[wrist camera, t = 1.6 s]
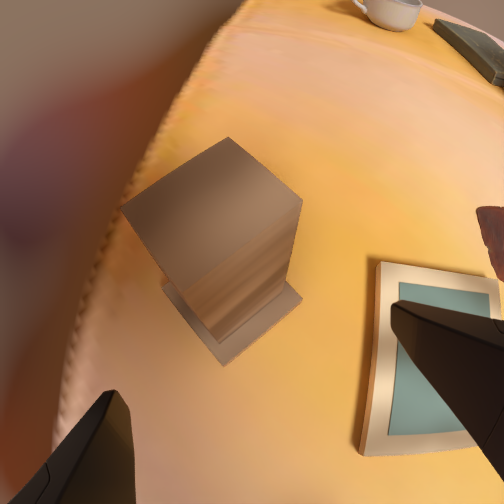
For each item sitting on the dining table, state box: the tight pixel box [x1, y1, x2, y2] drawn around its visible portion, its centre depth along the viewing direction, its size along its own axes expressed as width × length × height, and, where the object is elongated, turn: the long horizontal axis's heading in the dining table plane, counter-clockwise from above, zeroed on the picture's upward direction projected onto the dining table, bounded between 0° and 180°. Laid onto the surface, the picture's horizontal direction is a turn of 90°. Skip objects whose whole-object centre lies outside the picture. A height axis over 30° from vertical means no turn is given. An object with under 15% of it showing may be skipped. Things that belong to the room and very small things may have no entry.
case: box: [433, 19, 504, 87], centre depth 41 cm, size 18×4×20 cm
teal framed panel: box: [358, 261, 502, 456], centre depth 19 cm, size 14×12×1 cm
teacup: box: [351, 0, 423, 32], centre depth 40 cm, size 14×11×8 cm
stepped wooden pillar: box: [120, 137, 303, 367], centre depth 17 cm, size 7×7×12 cm
